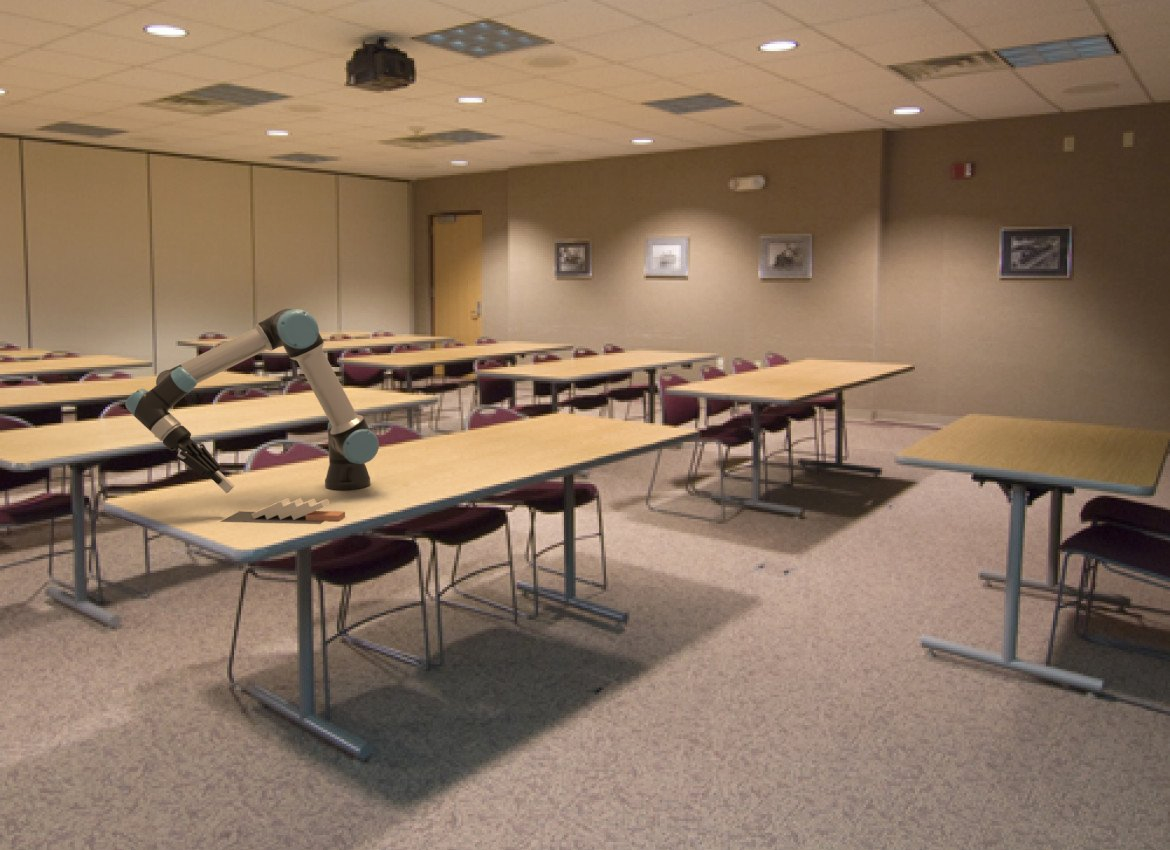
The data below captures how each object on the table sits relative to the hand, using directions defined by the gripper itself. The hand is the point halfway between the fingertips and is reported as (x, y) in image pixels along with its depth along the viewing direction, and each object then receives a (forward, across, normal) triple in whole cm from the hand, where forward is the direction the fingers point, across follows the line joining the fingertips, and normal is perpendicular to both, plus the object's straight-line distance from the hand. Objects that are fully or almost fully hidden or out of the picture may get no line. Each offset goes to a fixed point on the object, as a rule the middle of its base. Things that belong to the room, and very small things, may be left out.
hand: (230, 489), depth 266 cm
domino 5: (+22, 0, +11) cm, 25 cm away
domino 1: (+11, 0, 0) cm, 11 cm away
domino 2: (+13, 0, +3) cm, 14 cm away
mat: (+16, 0, +4) cm, 17 cm away
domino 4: (+19, 0, +8) cm, 21 cm away
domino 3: (+16, 0, +6) cm, 17 cm away
